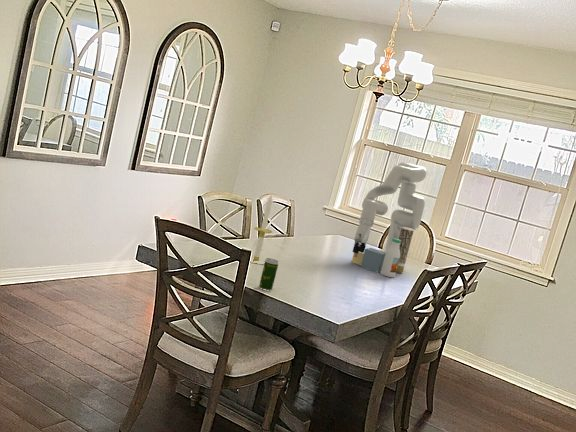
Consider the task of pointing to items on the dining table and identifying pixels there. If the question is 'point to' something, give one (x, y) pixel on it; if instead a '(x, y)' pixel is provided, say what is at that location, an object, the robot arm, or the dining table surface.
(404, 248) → the paper tube
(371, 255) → the dispenser
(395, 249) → the milk bottle
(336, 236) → the dining table surface
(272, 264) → the beer can
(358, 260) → the tall yellow upright plank
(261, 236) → the toy sword
